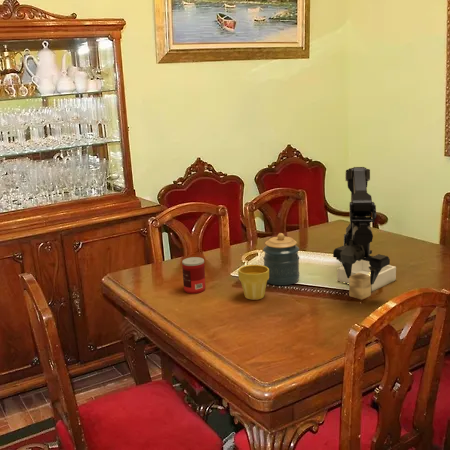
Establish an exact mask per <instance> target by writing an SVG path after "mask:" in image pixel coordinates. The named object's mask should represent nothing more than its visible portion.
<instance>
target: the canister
mask: <svg viewBox="0 0 450 450" xmlns="http://www.w3.org/2000/svg"><path fill="white" fill-rule="evenodd" d="M264 243H265V246H264V247H263V248H262V251H263V252H264V256H263V266H266V267H268V268H269V279H268V280H267V284H269V285H275V286H289V285H293V284H296V283H297V282H298V281H299V280H300V261H299V260H300V256H299V253H298V252H299V251H300V247H299V246H297V244H298V241H296V240H295V239H293V237H291V236H290V237H289V236H285V233H282V232H279V233H278V234H277V236H272V237H271V238H269V239H268V240H266V241H265V242H264ZM295 282H296V283H295Z"/></svg>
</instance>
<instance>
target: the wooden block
mask: <svg viewBox="0 0 450 450" xmlns="http://www.w3.org/2000/svg"><path fill="white" fill-rule="evenodd" d="M348 286H349V287H348V288H349V290H348V293H349V294H348V295H349V297H350V298H351V297H352V298H355V299H358V300H360V301H362V300H364V299H367V298H369V297H371V294H372V291H371V283H370V276H369V275H366V274H362V273H356V274H354V275H352V276H350V283H349V285H348Z"/></svg>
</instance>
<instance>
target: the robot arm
mask: <svg viewBox="0 0 450 450" xmlns="http://www.w3.org/2000/svg"><path fill="white" fill-rule="evenodd" d="M369 181H371V169H370V168H367V167H365V166H353V167H351V168H348V169H346V170H345V182H346V183H347V188H348V190H349V191H350V201H349V205H348V206H349V207H348V208H349V211H348V212H349V224H348V225H347V227H346V229H345V234H343V245H341V246H338V247H336V248H334V250H333V252H332V256H333V258H336V259H335V260H336V261H339V263H341V264H342V266H343V267H344V270H345V272H346V275H347V278H350V276H351V271H352V264H354V263H355V262H356V261H360V260H365V261H369V264H370V267H369V269H370V270H371V274H370V283H371V285H372V284H374V282H375V280H376V278H377V276H378V274H379V272H380V271H381V269H382V268H383V267H385V266H387V265H391V262H390V261H391V259H390V256H388V255H384V254H380V253H378V254H375V255H372V254H373V250H371V243H372V242H373V238H374V234H373V231H372V228H371V223H375V220H376V219H377V205H376V204H375V202H374V201H373V200H372V195H371V194H370V193H368V189H367V188H368V182H369Z"/></svg>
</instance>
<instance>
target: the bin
mask: <svg viewBox="0 0 450 450" xmlns="http://www.w3.org/2000/svg"><path fill="white" fill-rule="evenodd" d="M369 267H370V264H369V261H365V260H360V261H356V262H355V263H354V264H352V271H351V276H352V275H354V274H356V273H362V274H366V275H367V274H368V273H369V272H371V270H370V269H369ZM336 269H337V270H336V272H337V275H336V277H337V279H336V281H340V282H339V283H341V282H345V283H350V278H347V275H346V272H345V270H344V267H343V265H342V266H339V267H337V268H336ZM396 276H397V266H395V265H391V264H389V265H387V266H385V267H383V268H382V269H381V271H380V272H379V274H378V276H377V278H376V280H375V282H374V284H372V285H371V292H375V291H376V290H379V289H380V288H382V287H384V286H386V285H388V284H390V283H393V282H394V281H396V280H397V278H396Z"/></svg>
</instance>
